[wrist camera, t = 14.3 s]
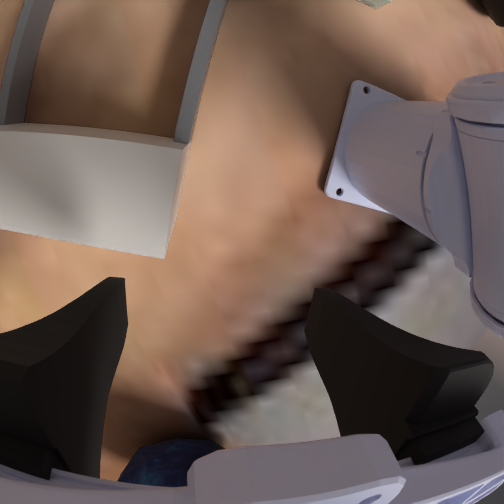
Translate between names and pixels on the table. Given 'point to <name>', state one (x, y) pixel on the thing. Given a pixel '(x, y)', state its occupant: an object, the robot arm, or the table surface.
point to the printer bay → (92, 158)
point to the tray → (375, 3)
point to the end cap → (495, 10)
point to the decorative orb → (166, 462)
